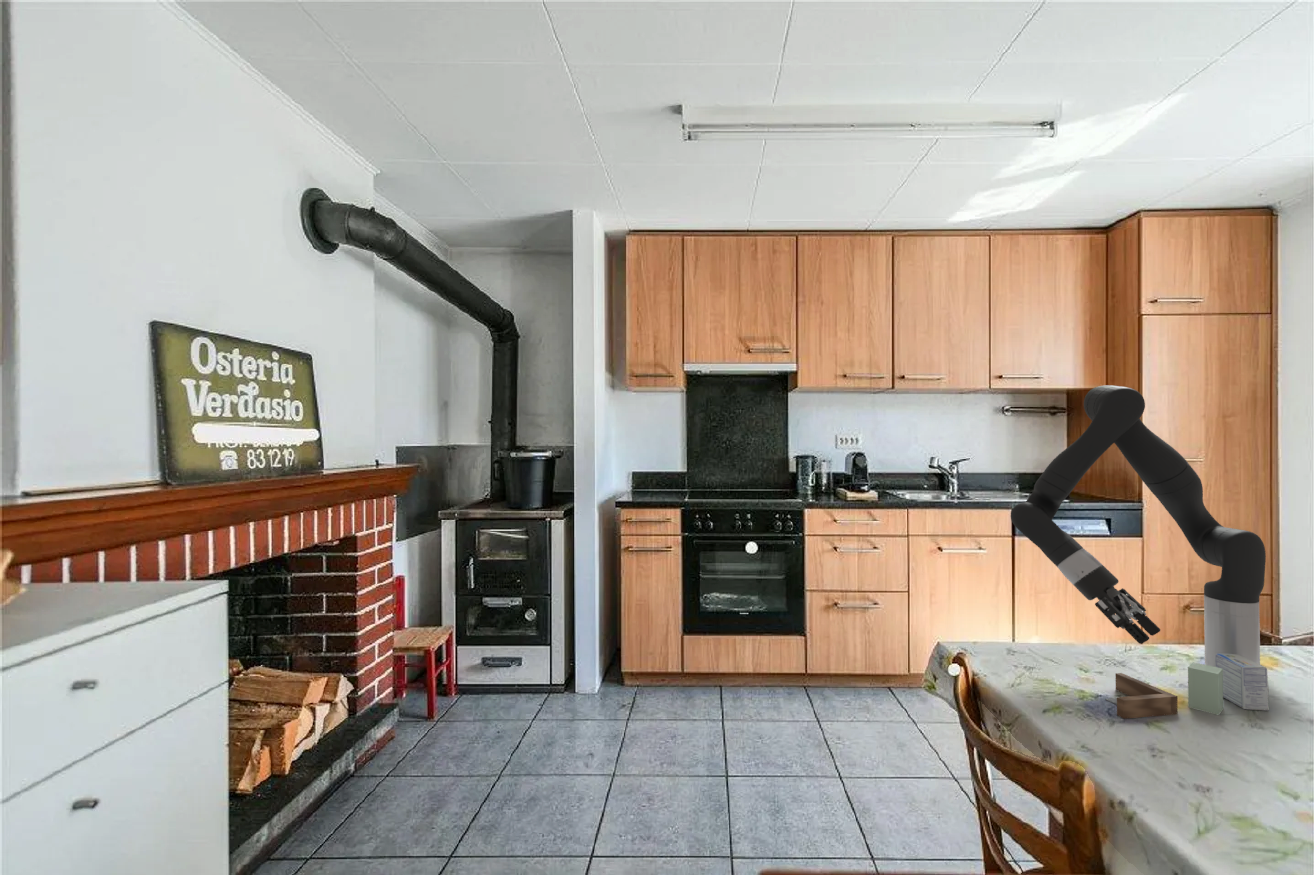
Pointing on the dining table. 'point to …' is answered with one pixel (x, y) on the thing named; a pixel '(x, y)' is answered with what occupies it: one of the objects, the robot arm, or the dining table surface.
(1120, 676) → the walnut corner
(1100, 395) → the robot arm
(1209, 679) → the sage block
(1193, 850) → the dining table surface
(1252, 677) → the medicine box
